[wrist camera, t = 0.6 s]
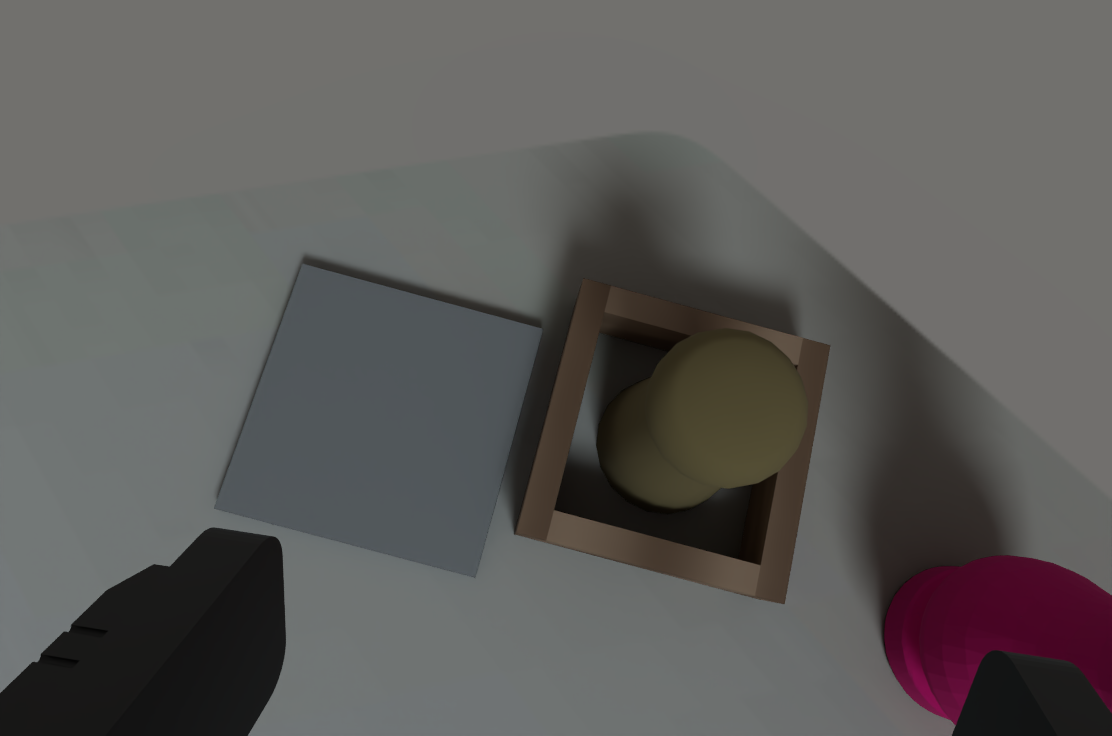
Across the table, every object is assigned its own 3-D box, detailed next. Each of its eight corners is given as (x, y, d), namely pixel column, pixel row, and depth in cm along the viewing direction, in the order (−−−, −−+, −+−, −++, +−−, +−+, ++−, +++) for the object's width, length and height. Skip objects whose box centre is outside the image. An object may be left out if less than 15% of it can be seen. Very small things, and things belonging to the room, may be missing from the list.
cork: (593, 378, 35) (638, 302, 24) (726, 377, 35) (827, 302, 24) (599, 515, 33) (649, 500, 23) (736, 512, 34) (848, 496, 23)
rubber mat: (219, 509, 32) (213, 508, 32) (305, 268, 35) (302, 263, 34) (475, 577, 32) (475, 577, 32) (542, 332, 35) (543, 329, 34)
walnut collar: (514, 534, 33) (516, 532, 30) (576, 300, 35) (583, 278, 32) (758, 599, 33) (784, 604, 30) (802, 362, 36) (830, 345, 33)
